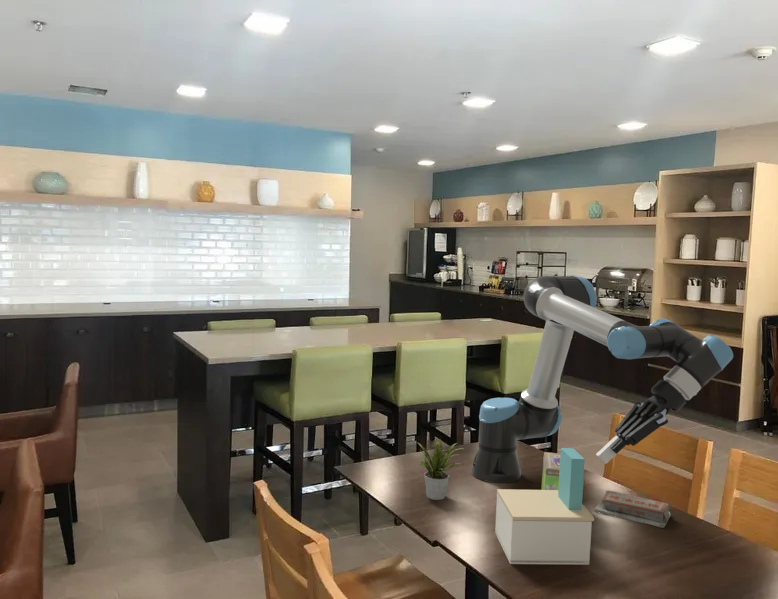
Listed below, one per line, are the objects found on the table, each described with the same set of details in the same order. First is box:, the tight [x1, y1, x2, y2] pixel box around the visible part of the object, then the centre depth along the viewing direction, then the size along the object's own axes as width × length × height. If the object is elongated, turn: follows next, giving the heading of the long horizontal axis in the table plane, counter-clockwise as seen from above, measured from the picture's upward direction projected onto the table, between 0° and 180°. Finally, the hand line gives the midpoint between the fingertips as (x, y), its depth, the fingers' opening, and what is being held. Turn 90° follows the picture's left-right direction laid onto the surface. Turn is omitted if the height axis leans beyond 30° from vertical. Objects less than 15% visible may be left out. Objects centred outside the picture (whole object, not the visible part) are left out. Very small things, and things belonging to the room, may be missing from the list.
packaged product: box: [594, 490, 672, 529], centre depth 178 cm, size 18×5×10 cm
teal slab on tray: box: [496, 447, 595, 522], centre depth 154 cm, size 18×16×13 cm
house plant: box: [417, 438, 465, 501], centre depth 184 cm, size 14×14×16 cm
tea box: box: [540, 451, 585, 498], centre depth 175 cm, size 15×10×15 cm
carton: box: [494, 493, 593, 566], centre depth 155 cm, size 18×16×10 cm
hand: (600, 459), depth 154 cm, fingers closed
